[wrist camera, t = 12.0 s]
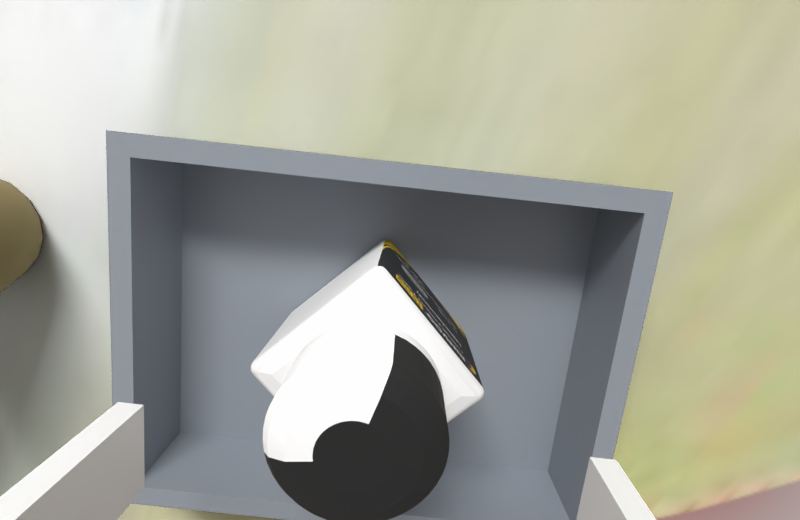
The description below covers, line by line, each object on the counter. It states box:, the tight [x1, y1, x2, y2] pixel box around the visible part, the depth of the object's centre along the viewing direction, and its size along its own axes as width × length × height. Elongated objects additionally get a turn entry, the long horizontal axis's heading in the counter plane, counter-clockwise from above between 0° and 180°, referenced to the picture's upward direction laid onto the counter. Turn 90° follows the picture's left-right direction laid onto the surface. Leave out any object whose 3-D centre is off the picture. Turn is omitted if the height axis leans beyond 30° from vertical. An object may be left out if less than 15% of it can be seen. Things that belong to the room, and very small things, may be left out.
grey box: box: [106, 130, 673, 520], centre depth 24 cm, size 24×18×6 cm
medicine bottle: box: [251, 240, 484, 520], centre depth 20 cm, size 7×7×12 cm
